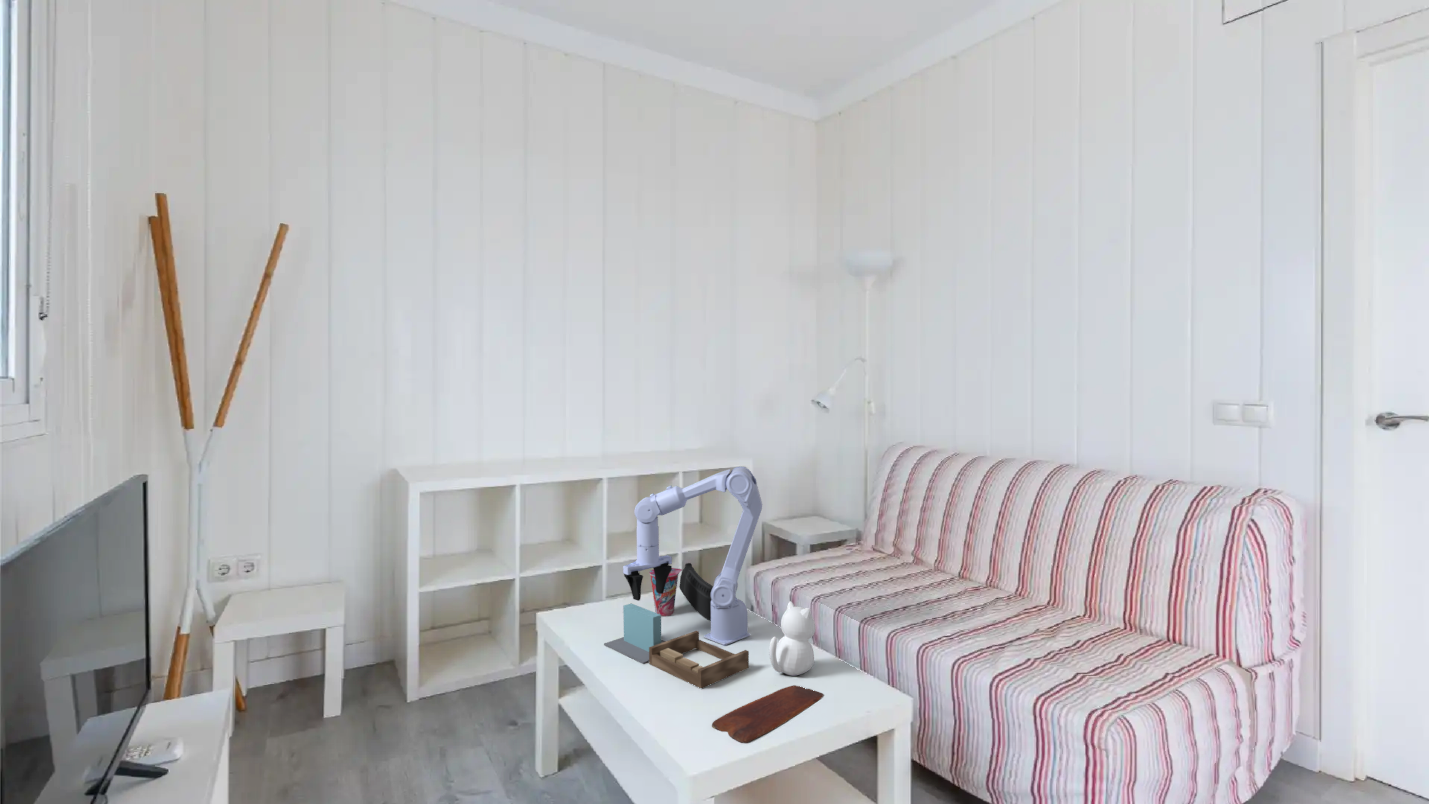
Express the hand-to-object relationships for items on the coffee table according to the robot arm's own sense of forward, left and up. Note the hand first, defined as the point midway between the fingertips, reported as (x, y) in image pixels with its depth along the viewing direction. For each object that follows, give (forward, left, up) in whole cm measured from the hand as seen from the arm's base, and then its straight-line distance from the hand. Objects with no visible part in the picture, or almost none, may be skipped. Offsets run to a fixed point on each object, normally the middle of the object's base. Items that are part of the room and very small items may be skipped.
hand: (648, 596), depth 182 cm
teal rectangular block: (+6, +5, -10) cm, 13 cm away
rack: (+4, +23, -10) cm, 25 cm away
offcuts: (+8, +23, -10) cm, 26 cm away
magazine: (-22, -4, -11) cm, 25 cm away
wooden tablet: (+7, +49, -11) cm, 51 cm away
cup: (-14, -10, -11) cm, 20 cm away
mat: (+6, +5, -10) cm, 13 cm away
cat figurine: (-10, +40, -11) cm, 43 cm away
